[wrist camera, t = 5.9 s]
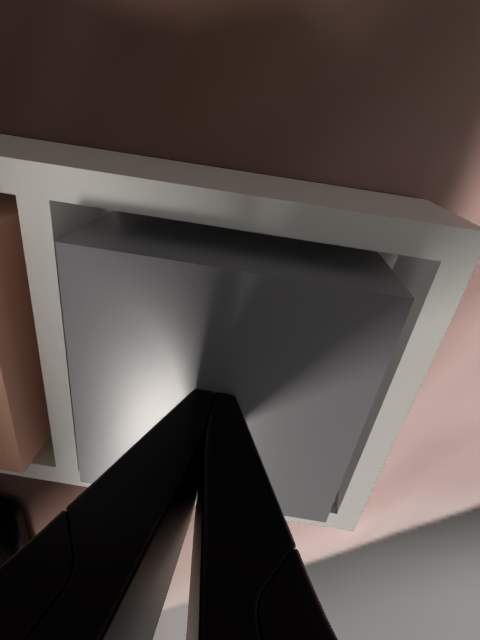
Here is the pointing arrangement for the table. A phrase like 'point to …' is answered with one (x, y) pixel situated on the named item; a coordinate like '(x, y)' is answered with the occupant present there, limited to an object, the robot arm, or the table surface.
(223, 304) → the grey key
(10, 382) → the terracotta key
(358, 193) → the light grey divided tray
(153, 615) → the robot arm
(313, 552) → the table surface
